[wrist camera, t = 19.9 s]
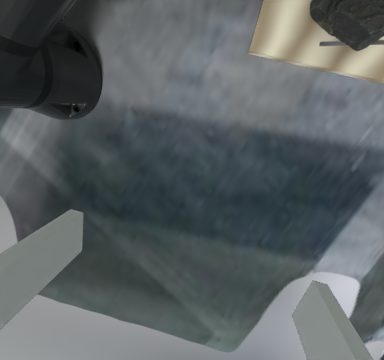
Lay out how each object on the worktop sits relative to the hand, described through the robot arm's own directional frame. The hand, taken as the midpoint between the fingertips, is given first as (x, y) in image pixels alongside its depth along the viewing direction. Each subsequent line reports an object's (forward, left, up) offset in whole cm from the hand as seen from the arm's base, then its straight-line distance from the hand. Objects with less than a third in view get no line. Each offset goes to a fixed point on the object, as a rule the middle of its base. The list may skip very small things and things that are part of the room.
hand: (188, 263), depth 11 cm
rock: (+13, +24, -25) cm, 37 cm away
